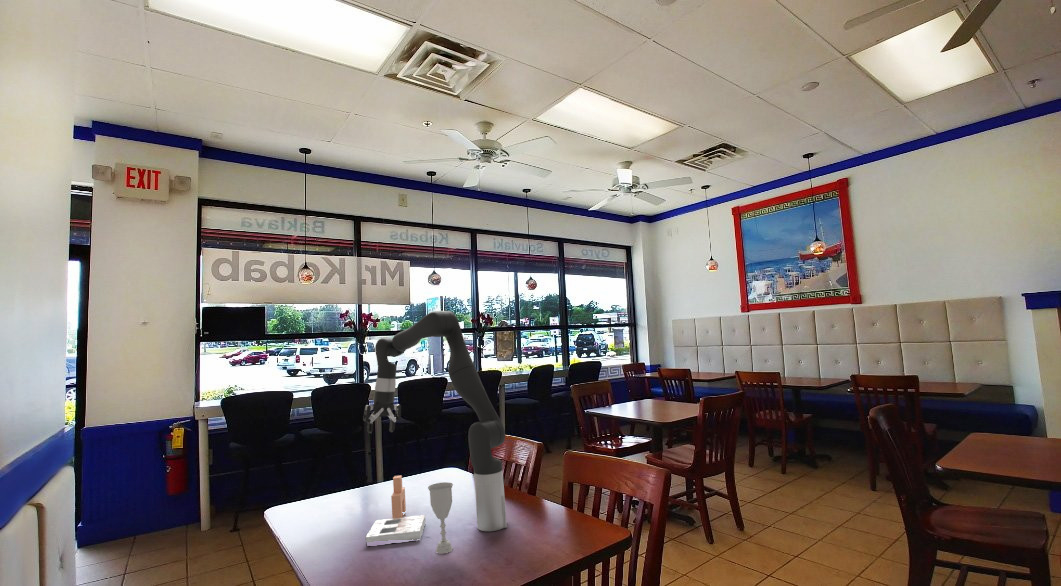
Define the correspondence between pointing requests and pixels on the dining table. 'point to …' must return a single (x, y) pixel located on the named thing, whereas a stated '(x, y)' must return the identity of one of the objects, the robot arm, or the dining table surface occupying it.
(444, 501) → the chalice
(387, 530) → the plate
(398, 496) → the clip
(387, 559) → the dining table surface
